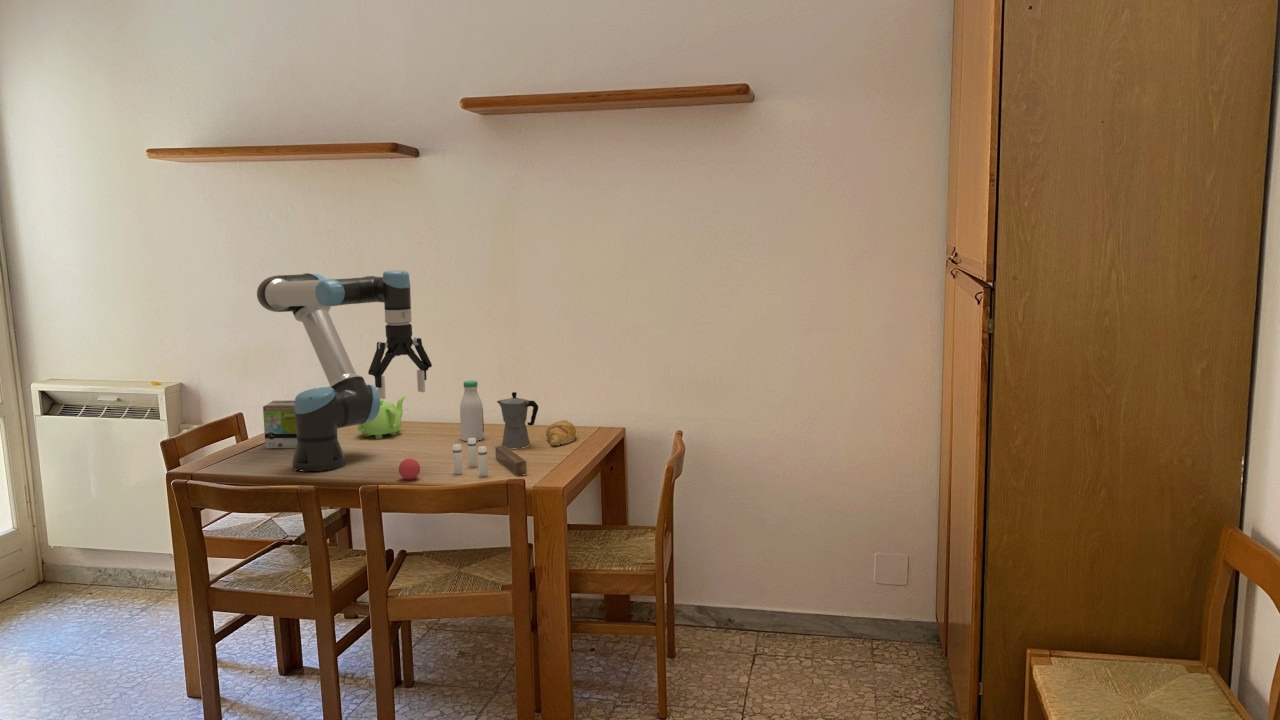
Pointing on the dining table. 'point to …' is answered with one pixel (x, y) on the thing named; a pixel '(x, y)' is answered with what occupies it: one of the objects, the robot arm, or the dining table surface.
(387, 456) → the dining table surface
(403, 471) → the ball
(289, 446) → the tea box
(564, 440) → the croissant
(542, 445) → the dining table surface
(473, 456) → the pin
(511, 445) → the coffeepot
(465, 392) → the milk bottle
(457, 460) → the front pin
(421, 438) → the dining table surface
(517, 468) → the brown long rectangular bar
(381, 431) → the green lumpy piece
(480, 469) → the pin
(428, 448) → the dining table surface
